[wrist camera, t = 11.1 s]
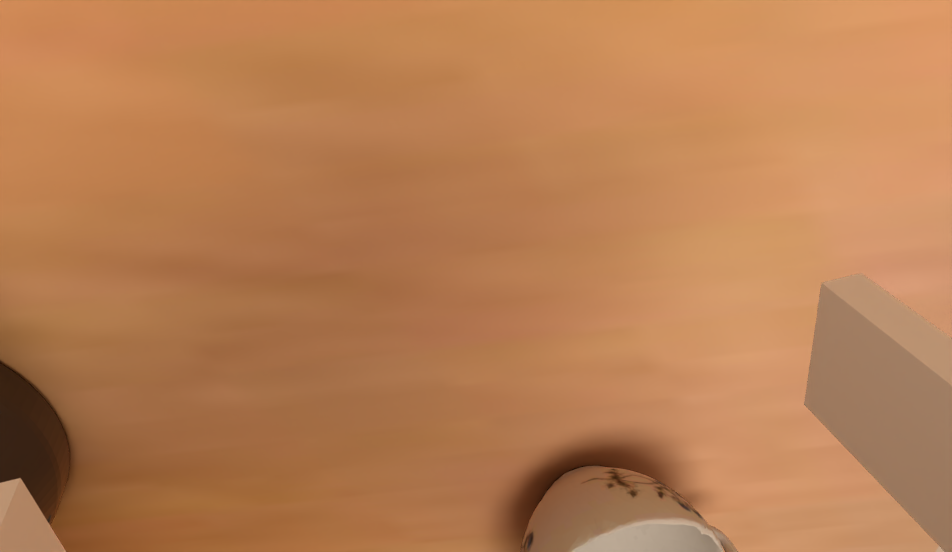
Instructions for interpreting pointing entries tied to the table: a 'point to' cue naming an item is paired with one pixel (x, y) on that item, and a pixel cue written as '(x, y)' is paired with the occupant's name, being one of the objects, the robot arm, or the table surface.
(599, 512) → the teacup
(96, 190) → the table surface
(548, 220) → the table surface
